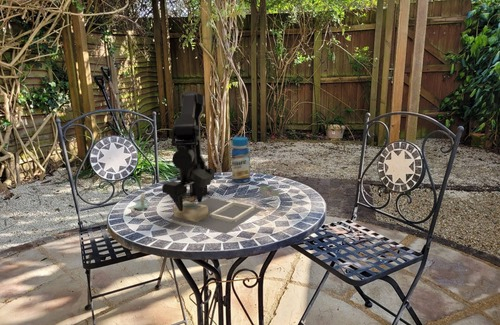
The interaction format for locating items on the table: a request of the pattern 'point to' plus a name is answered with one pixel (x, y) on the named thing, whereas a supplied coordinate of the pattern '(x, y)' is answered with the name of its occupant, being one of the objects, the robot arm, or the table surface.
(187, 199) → the compass
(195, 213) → the slab
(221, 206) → the mat
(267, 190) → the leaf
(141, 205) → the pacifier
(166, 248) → the table surface
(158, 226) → the table surface
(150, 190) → the table surface
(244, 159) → the beverage bottle
